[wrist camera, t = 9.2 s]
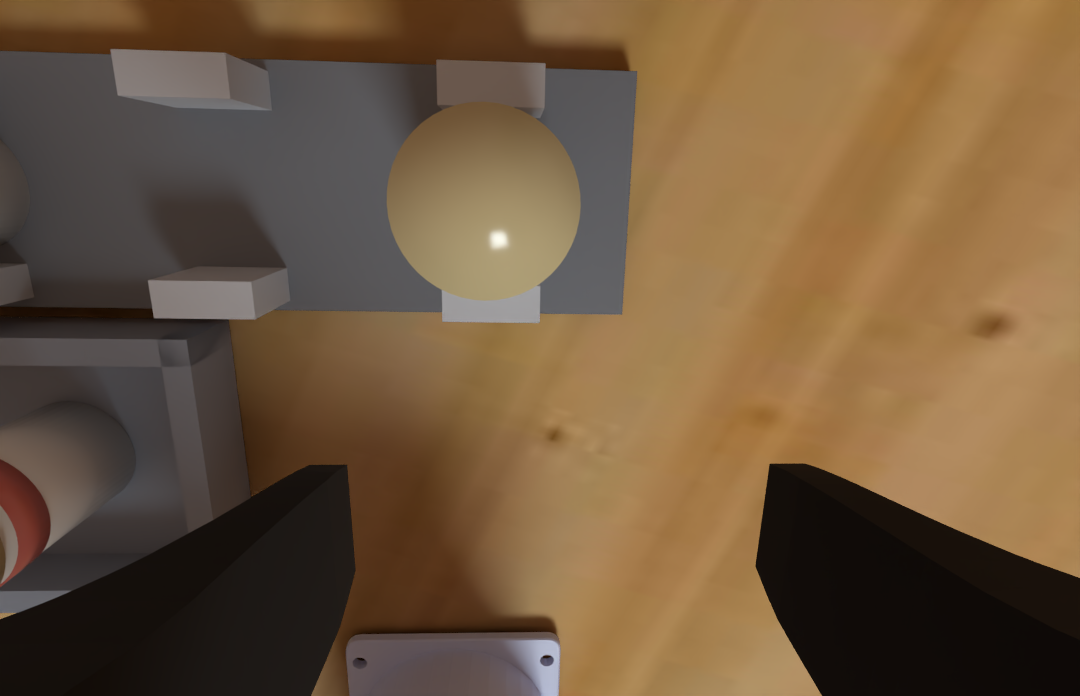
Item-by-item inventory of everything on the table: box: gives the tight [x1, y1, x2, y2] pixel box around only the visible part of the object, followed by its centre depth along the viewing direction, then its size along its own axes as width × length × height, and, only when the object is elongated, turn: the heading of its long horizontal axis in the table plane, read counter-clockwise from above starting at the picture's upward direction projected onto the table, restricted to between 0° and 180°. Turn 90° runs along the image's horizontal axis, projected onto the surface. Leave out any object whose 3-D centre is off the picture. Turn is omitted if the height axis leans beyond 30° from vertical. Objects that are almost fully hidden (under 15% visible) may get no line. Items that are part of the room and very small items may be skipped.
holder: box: [0, 49, 637, 323], centre depth 16 cm, size 7×23×3 cm, turn 89°
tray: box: [0, 316, 251, 613], centre depth 19 cm, size 9×10×2 cm
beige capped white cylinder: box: [387, 102, 581, 301], centre depth 14 cm, size 4×4×6 cm
